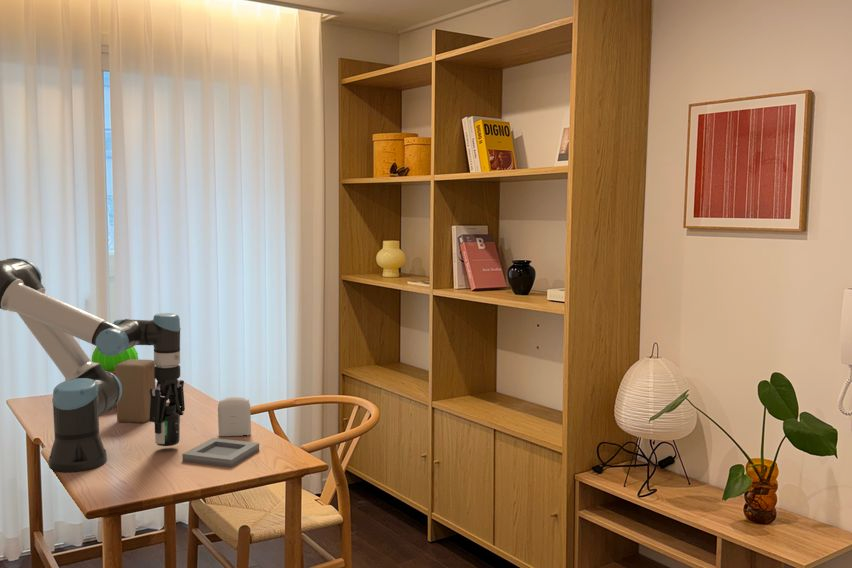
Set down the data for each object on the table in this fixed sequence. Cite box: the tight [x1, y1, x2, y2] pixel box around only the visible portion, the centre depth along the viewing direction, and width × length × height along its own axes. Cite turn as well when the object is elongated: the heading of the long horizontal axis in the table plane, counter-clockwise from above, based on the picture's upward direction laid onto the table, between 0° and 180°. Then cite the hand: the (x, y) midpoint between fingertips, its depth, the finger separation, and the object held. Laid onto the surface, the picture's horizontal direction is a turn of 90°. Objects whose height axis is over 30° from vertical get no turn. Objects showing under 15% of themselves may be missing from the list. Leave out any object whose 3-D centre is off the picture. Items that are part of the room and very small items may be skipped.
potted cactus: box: [89, 346, 139, 408], centre depth 288 cm, size 22×22×25 cm
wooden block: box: [115, 358, 156, 424], centre depth 266 cm, size 10×10×20 cm
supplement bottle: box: [155, 401, 181, 447], centre depth 234 cm, size 7×7×12 cm
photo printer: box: [217, 396, 252, 437], centre depth 249 cm, size 10×4×12 cm, turn 96°
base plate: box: [181, 437, 260, 468], centre depth 230 cm, size 16×16×2 cm
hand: (167, 439), depth 235 cm, fingers closed on supplement bottle, 7 cm apart
